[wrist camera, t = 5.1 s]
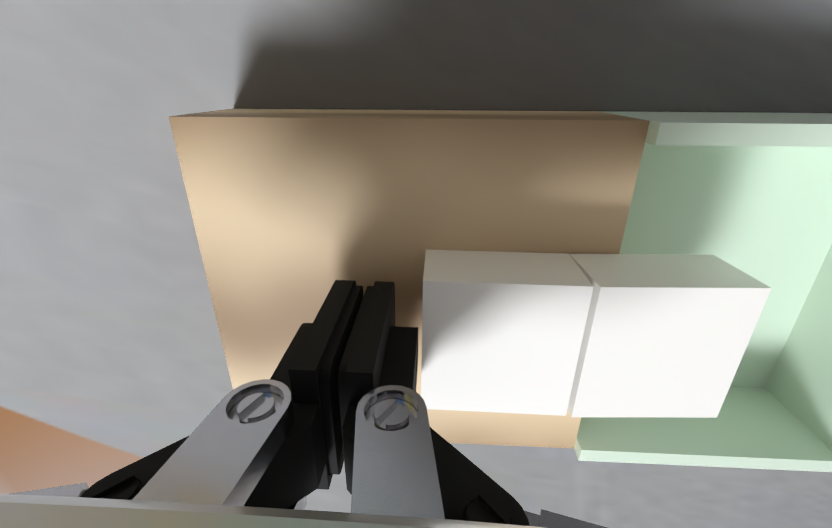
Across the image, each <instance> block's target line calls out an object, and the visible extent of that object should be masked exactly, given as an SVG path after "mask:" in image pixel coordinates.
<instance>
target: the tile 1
mask: <svg viewBox="0 0 832 528" xmlns="http://www.w3.org/2000/svg"><path fill="white" fill-rule="evenodd" d="M593 288H594V286H593V285H592V284H591V282H590V281H589V280H588V278H587V277H586V276H585V274H584V273H583V272H582V270H581V269H580V268H579V266H578V265H577V264H576V262H575V261H574V260H573V258H572V257H571V256H570V254H565V253H531V252H496V251H462V250H427V249H426V252H425V264H424V275H423V306H422V363H421V397H422V398H423V399H424V402H425V404H426V407H427V409H434V410H455V411H476V412H497V413H517V414H538V415H559V416H566V413H567V409H568V404H569V399H570V395H571V390H572V385H573V381H574V376H575V372H576V367H577V362H578V358H579V353H580V348H581V344H582V339H583V334H584V330H585V325H586V320H587V316H588V311H589V306H590V302H591V297H592V292H593Z"/></svg>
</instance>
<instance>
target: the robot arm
mask: <svg viewBox="0 0 832 528" xmlns="http://www.w3.org/2000/svg"><path fill="white" fill-rule="evenodd" d="M417 368H418V327H398V326H395V283H394V282H384V281H375V283H374V286H367V288H366V291H365V294H364V295H363V286H359V285H357V284H356V281H355V280H335V282H334V284H333V285H332V287H331V289H330V291H329V293H328V295H327V297H326V299H325V301H324V303H323V304H322V306H321V308H320V310H319V312H318V314H317V316H316V318H315V320H314V322H313V323H302V325H301V326H300V327H299V329H298V331H297V333H296V334H295V336H294V338H293V340H292V341H291V343H290V345H289V347H288V348H287V350H286V352H285V354H284V355H283V357H282V359H281V361H280V362H279V364H278V366H277V368H276V369H275V371H274V373H273V375H272V376H271V378H270V380H269V379H262V380H256V381H251V382H248V383H246V384H243V385H241V386H239V387H237V388H235V389H234V390H232V391H231V392H230V393H229V394H227V395H226V396H225V397H224V398H223V399H222V400H221V401H220V403H219V404H218V405H217V406H216V407H215V408H214V409H213V410H212V411H211V413H210V414H209V415H208V416H207V417H206V418H205V419H204V420H203V421H202V423H201V424H200V425H199V426H198V427H197V428H196V429H195V430H194V432H193V433H192V434H191V435H190V436H188V437H186V438H183V439H181V440H179V441H177V442H175V443H173V444H171V445H169V446H167V447H165V448H163V449H161V450H159V451H157V452H155V453H153V454H151V455H148V456H146V457H144V458H142V459H140V460H138V461H137V462H134V463H132V464H130V465H128V466H126V467H124V468H122V469H120V470H118V471H116V472H114V473H112V474H110V475H108V476H106V477H105V478H103V479H101V480H99V481H98V482H96V483H95V484H94V485H92V486H91V487H90V488H89V487H88V485H87V483H81V484H75V485H67V486H60V487H54V488H47V489H40V490H34V491H26V492H19V493H12V494H0V528H607V527H603V526H600V525H596V524H592V523H589V522H585V521H582V520H578V519H575V518H571V517H567V516H564V515H560V514H557V513H553V512H550V511H546V510H542V509H541V512H540V515H537V514H534V513H530V512H527V511H524V510H523V508H522V507H521V505H520V504H519V503H518V502H517V501H516V500H515V499H514V498H513V497H512V496H511V495H510V494H509V493H507V492H506V491H505V490H504V489H503V488H502V487H500V486H499V485H498V484H497V483H496V482H495V481H493V480H492V479H491V478H490V477H489V476H487V475H486V474H485V473H484V472H483V471H482V470H480V469H479V468H478V467H477V466H476V465H474V464H473V463H472V462H471V461H470V460H469V459H467V458H466V457H465V456H464V455H463V454H461V453H460V452H459V451H458V450H457V449H456V448H454V447H453V446H452V445H451V444H450V443H448V442H447V441H446V440H445V439H444V438H443V437H441V436H440V435H439V434H438V433H437V432H436V431H434V430H433V429H432V428H431V427H430V425H429V419H428V413H427V407H426V404H425V402H424V399H423V398H422V397H421V396H420V395H419V394H418V393H417V392H416V385H417ZM343 462H345V472H346V483H347V490H348V491H349V492H350V493H351V495H352V500H351V513H343V512H328V511H312V510H304V509H305V506H306V496H307V495H308V494H310V493H311V492H313V491H314V490H316V489H329V486H330V483H331V479H332V475H333V474H340V473H341V470H342V466H343Z"/></svg>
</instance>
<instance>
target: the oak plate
mask: <svg viewBox="0 0 832 528" xmlns="http://www.w3.org/2000/svg"><path fill="white" fill-rule="evenodd" d="M169 120H170V124H171V128H172V133H173V137H174V141H175V145H176V150H177V154H178V158H179V162H180V167H181V171H182V175H183V179H184V184H185V188H186V192H187V196H188V201H189V205H190V209H191V213H192V218H193V222H194V226H195V230H196V234H197V239H198V243H199V247H200V251H201V256H202V260H203V264H204V268H205V273H206V277H207V281H208V285H209V290H210V294H211V298H212V302H213V307H214V311H215V315H216V319H217V324H218V328H219V332H220V336H221V341H222V345H223V349H224V353H225V357H226V362H227V366H228V370H229V374H230V379H231V383H232V387H233V390H234V389H235V388H237V387H239V386H241V385H243V384H246V383H248V382H251V381H256V380H262V379H269V380H270V378H271V376H272V375H273V373H274V371H275V369H276V368H277V366H278V364H279V362H280V361H281V359H282V357H283V355H284V354H285V352H286V350H287V348H288V347H289V345H290V343H291V341H292V340H293V338H294V336H295V334H296V333H297V331H298V329H299V327H300V326H301V325H302V323H313V322H314V320H315V318H316V316H317V314H318V312H319V310H320V308H321V306H322V304H323V303H324V301H325V299H326V297H327V295H328V293H329V291H330V289H331V287H332V285H333V284H334V282H335V280H355V281H356V284H357V285H359V286H363V295H364V294H365V291H366V288H367V286H374V283H375V281H384V282H394V283H395V326H398V327H418V368H417V385H416V392H417V393H418V394H419V395H420V396H421V363H422V306H423V275H424V264H425V252H426V249H427V250H462V251H496V252H531V253H565V254H619V253H620V248H621V244H622V240H623V235H624V231H625V227H626V222H627V218H628V214H629V209H630V205H631V201H632V196H633V192H634V188H635V183H636V179H637V175H638V170H639V166H640V162H641V157H642V153H643V149H644V145H645V140H646V136H647V132H648V127H649V123H650V121H649V120H643V119H637V118H632V117H626V116H621V115H615V114H610V113H604V112H598V111H483V110H350V109H226V110H218V111H210V112H202V113H194V114H186V115H178V116H170V117H169ZM427 413H428V419H429V425H430V427H431V428H432V429H433V430H434V431H436V432H437V433H438V434H439V435H440V436H441V437H443V438H444V439H445V440H446V441H447V442H448V443H465V444H487V445H510V446H532V447H555V448H574V447H575V443H576V438H577V434H578V430H579V425H580V421H581V417H571V415H570V413H569V411H568V409H567V413H566V416H559V415H538V414H517V413H497V412H476V411H455V410H434V409H427Z"/></svg>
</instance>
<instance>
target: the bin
mask: <svg viewBox="0 0 832 528" xmlns="http://www.w3.org/2000/svg"><path fill="white" fill-rule="evenodd" d="M598 112H604V113H610V114H615V115H621V116H626V117H632V118H637V119H643V120H649V121H650V123H649V127H648V132H647V136H646V140H645V145H644V149H643V153H642V157H641V162H640V166H639V170H638V175H637V179H636V183H635V188H634V192H633V196H632V201H631V205H630V209H629V214H628V218H627V222H626V227H625V231H624V235H623V240H622V244H621V248H620V253H619V254H702V255H715V256H716V257H718V258H720V259H722V260H723V261H725V262H727V263H729V264H730V265H732V266H734V267H736V268H737V269H739V270H741V271H743V272H744V273H746V274H748V275H750V276H751V277H753V278H755V279H757V280H758V281H760V282H762V283H764V284H765V285H767V286H769V287H771V288H772V289H771V291H770V293H769V296H768V298H767V300H766V303H765V305H764V307H763V310H762V312H761V315H760V317H759V319H758V322H757V324H756V326H755V329H754V331H753V333H752V336H751V338H750V341H749V343H748V345H747V348H746V350H745V352H744V355H743V357H742V359H741V362H740V364H739V367H738V369H737V371H736V374H735V376H734V378H733V381H732V383H731V385H730V388H729V390H728V393H727V395H726V397H725V400H724V402H723V404H722V407H721V409H720V411H719V414H718V416H717V418H683V417H581V421H580V425H579V430H578V434H577V438H576V443H575V447H574V449H575V452H576V455H577V457H578V460H580V461H602V462H624V463H645V464H667V465H689V466H711V467H733V468H754V469H776V470H798V471H820V472H832V113H750V112H616V111H598Z"/></svg>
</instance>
